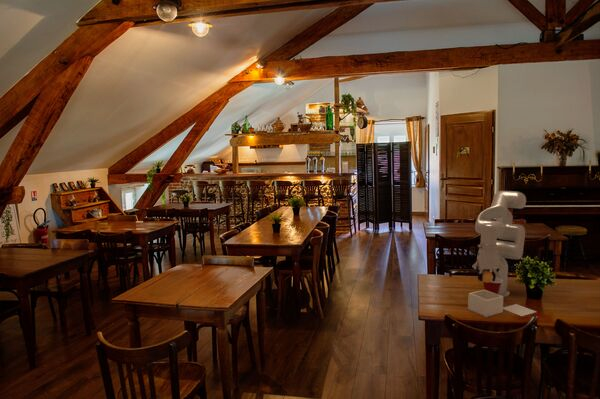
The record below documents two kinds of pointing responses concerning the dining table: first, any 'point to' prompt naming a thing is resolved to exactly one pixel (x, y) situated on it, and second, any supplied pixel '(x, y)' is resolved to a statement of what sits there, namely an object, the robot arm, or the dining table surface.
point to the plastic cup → (493, 285)
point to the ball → (487, 276)
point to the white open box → (485, 303)
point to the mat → (519, 310)
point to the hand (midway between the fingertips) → (486, 280)
